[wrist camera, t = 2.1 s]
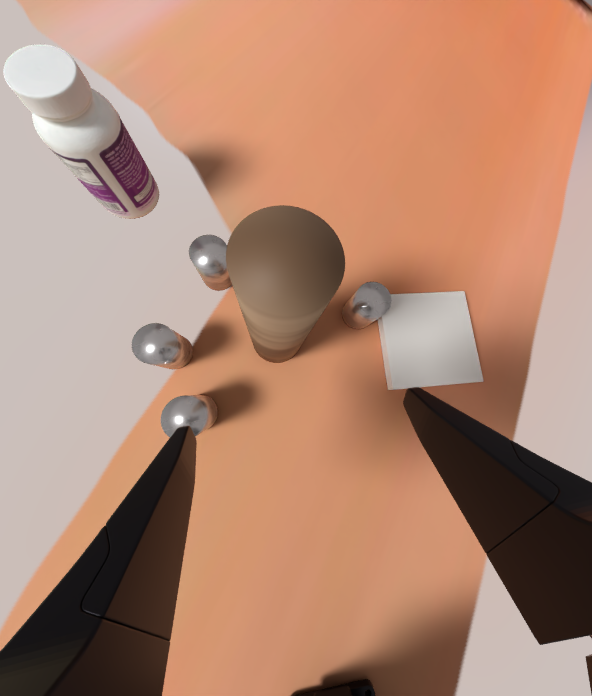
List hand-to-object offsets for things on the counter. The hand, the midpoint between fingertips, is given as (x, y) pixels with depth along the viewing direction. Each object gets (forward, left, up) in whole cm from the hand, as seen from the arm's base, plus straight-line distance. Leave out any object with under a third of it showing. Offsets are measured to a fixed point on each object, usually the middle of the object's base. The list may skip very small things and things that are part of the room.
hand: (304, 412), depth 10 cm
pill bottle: (+21, +13, -12) cm, 28 cm away
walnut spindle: (+6, 0, -12) cm, 13 cm away
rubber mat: (+5, -14, -12) cm, 19 cm away
